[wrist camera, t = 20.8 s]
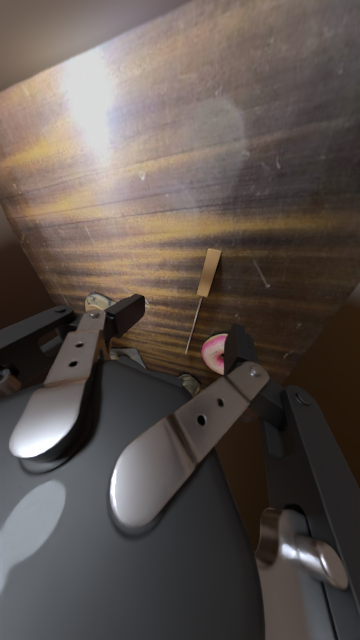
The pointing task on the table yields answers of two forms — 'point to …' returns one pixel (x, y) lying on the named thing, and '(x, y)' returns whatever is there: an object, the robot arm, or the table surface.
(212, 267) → the knife
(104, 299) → the decorative bowl
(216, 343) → the donut
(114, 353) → the stuffed giraffe
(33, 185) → the table surface
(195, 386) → the seashell
